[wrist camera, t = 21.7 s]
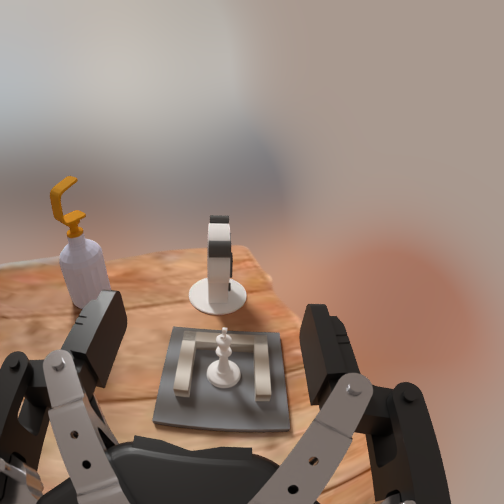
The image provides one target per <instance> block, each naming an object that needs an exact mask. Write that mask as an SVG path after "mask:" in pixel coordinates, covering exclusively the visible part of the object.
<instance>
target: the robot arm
mask: <svg viewBox="0 0 504 504" xmlns="http://www.w3.org/2000/svg"><path fill="white" fill-rule="evenodd" d="M126 328H127V316H126V312H125V308H124V305H123V301H122V297H121V294H120V292H119V291H113V290H105V289H104V290H102V291H101V292H100V294H99V296H98V298H97V299H96V300H91V301H90V302H89V303H88V304H87V305H85V306H84V308H83V309H82V311H81V313H80V315H79V317H78V318H77V320H76V322H75V324H74V325H73V327H72V329H71V331H70V333H69V334H68V336H67V338H66V340H65V342H64V344H63V346H62V348H61V350H55V351H53V352H51V353H50V354H48V355H47V356H46V358H45V360H29V359H28V358H27V356H26V355H25V354H24V353H23V352H19V351H17V352H13V353H11V354H10V355H8V356H7V357H6V359H5V360H4V362H3V364H2V367H1V369H0V504H320V503H319V502H318V501H316V499H317V498H318V496H319V495H320V494H321V492H322V491H323V489H324V488H325V486H326V485H327V483H328V482H329V480H330V478H331V477H332V475H333V474H334V472H335V470H336V469H337V467H338V466H339V464H340V462H341V461H342V459H343V457H344V455H345V454H346V452H347V450H348V448H349V446H350V444H351V442H352V435H353V433H354V432H356V433H363V434H365V435H366V440H367V446H368V452H369V459H370V465H371V472H372V479H373V487H374V495H375V503H373V504H451V500H450V495H449V489H448V484H447V480H446V475H445V471H444V466H443V462H442V458H441V454H440V450H439V446H438V443H437V439H436V435H435V432H434V429H433V425H432V422H431V419H430V416H429V413H428V409H427V406H426V403H425V401H424V397H423V394H422V392H421V390H420V389H419V388H418V387H417V386H416V385H414V384H412V383H409V382H403V383H400V384H398V385H397V386H396V387H395V388H394V389H389V388H383V387H377V386H374V385H372V384H371V382H370V381H369V380H368V379H367V378H366V377H365V376H363V375H361V374H360V371H359V368H358V365H357V362H356V359H355V356H354V353H353V350H352V347H351V344H350V341H349V338H348V336H347V332H346V329H345V327H344V324H343V323H342V322H341V321H340V320H339V319H338V318H337V316H329V312H328V309H327V306H326V305H325V304H308V305H307V307H306V310H305V314H304V317H303V321H302V325H301V328H300V346H301V352H302V357H303V363H304V368H305V374H306V380H307V386H308V392H309V398H310V404H311V405H319V408H320V412H319V413H318V415H317V416H316V418H315V419H314V420H313V422H312V423H311V425H310V426H309V428H308V429H307V431H306V432H305V433H304V435H303V436H302V438H301V439H300V440H299V442H298V443H297V445H296V446H295V447H294V449H293V450H292V451H291V453H290V454H289V455H288V457H287V458H286V459H285V460H284V462H283V463H282V464H281V466H279V465H278V464H276V463H275V462H273V461H271V460H269V459H267V458H265V457H262V456H259V455H256V454H252V448H241V447H218V448H211V449H204V450H196V451H189V450H186V449H183V448H181V447H178V446H175V445H173V444H170V443H167V442H165V441H162V440H157V439H151V438H146V437H141V436H136V435H135V436H134V441H133V442H125V443H121V444H119V443H118V442H117V440H116V438H115V437H114V435H113V434H112V432H111V430H110V428H109V426H108V424H107V422H106V420H105V417H104V415H103V413H102V411H101V408H100V406H99V403H98V401H97V398H96V396H95V394H94V390H95V387H96V386H97V387H102V388H105V386H106V383H107V380H108V377H109V374H110V371H111V368H112V366H113V363H114V360H115V357H116V355H117V352H118V349H119V347H120V344H121V341H122V339H123V336H124V334H125V331H126ZM23 397H25V400H24V403H23V406H22V408H21V411H20V414H19V417H18V411H19V408H20V405H21V402H22V400H23ZM49 420H50V422H51V425H52V429H53V432H54V435H55V438H56V441H57V444H58V447H59V450H60V453H61V456H62V458H63V461H64V464H65V466H66V469H67V471H68V474H69V476H70V477H69V478H68V479H66V480H65V481H64V482H62V483H61V484H59V485H58V486H56V487H55V488H53V489H52V490H50V491H49V492H47V493H46V494H44V495H43V494H42V491H43V489H44V486H43V484H42V482H41V479H40V476H39V474H38V473H37V469H38V464H39V459H40V455H41V451H42V446H43V442H44V438H45V435H46V431H47V427H48V424H49Z"/></svg>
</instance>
